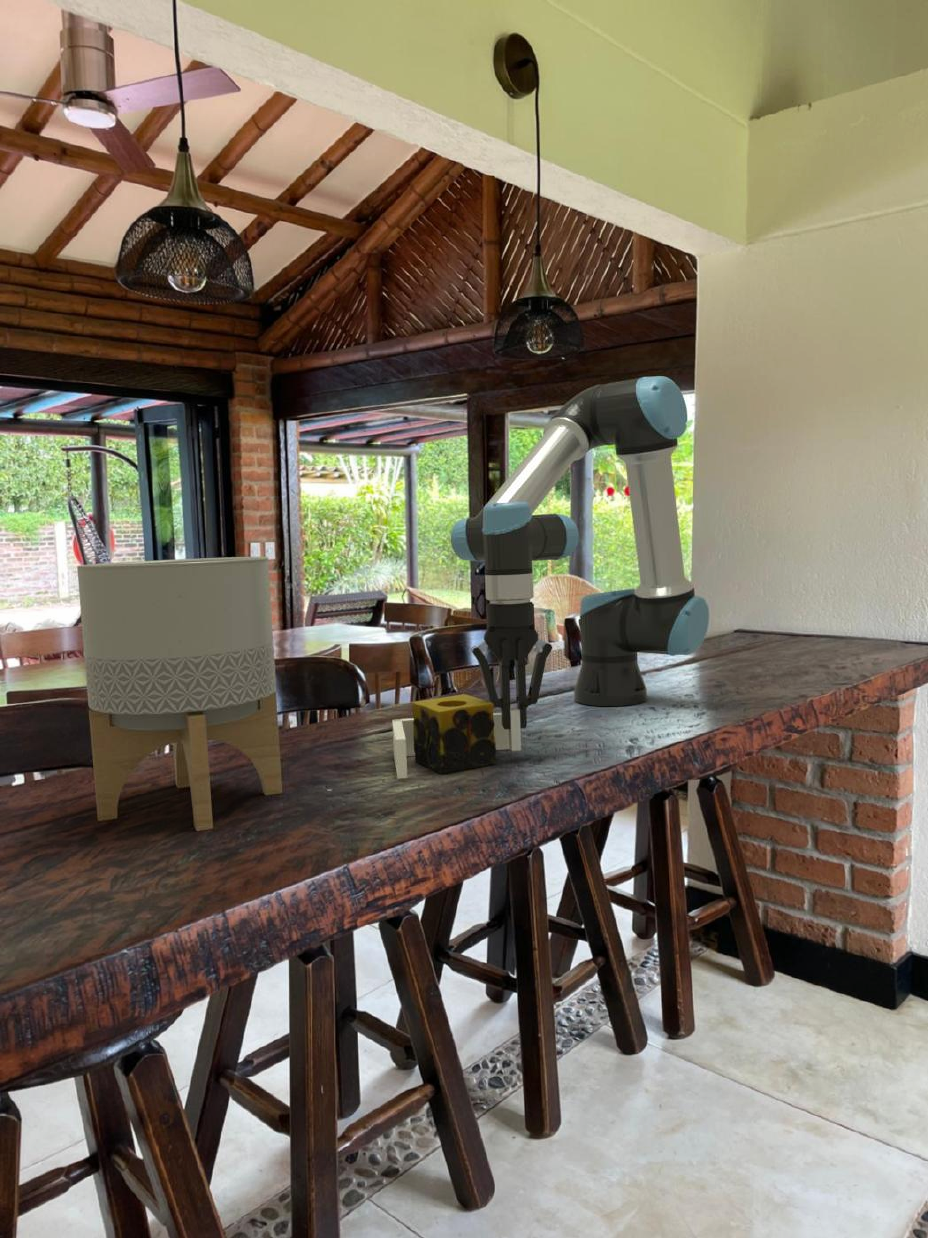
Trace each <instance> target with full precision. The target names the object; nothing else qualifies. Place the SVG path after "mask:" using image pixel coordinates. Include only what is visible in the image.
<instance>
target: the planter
mask: <svg viewBox="0 0 928 1238" xmlns="http://www.w3.org/2000/svg"><path fill="white" fill-rule="evenodd" d="M76 568H77V581H78V592H79V593H78V595H79V605H80V616H81V618H80V619H81V627H82V629H81V630H82V642H83V655H84V666H85V678H86V691H87V693H86V694H87V702H88V707H89V708H90V709H89V710H88V717H89V729H90V741H91V743H90V744H91V753H92V765H93V767H92V768H93V778H94V789H95V790H94V791H95V801H96V814H97V821H98V822H101V821H103V822H104V821H109V820H115V819H118V804H119V800H120V797H121V794H122V790H123V787H124V786H125V783H126V781H127V779H128V778H129V776H130V775H131V773H132V772H133V771H134V769H135V768H136V767H137V766H138V765H139V764H140V763H141V762H142V761H144V759H146V758H147V757H148V756H150V755H151V754H152V753H154V752H157V750H158V751H159V750H160V749H161V748H164V747H167V746H169V745H172V749H173V761H174V762H173V763H174V776H175V778H174V779H175V786H176V788H177V789H184V788H189V787H190V794H191V795H190V796H191V798H190V799H191V804H192V805H191V806H192V815H193V826H194V829H195V830H196V832H201V831H206V830H212V829H214V823H213V822H214V821H213V820H214V819H213V811H212V810H213V809H212V795H211V794H212V793H211V792H212V791H211V781H210V780H211V779H210V767H209V766H210V764H209V751H208V750H209V749H208V741H217V742H220V743H223V744H226V745H228V746H231V747H233V748H235V749H237V750H238V751H240V752H241V753H242V754H244V755H245V757H247V758H248V759H249V761H251V763H252V764H253V766H254V768H255V769H256V772H257V774H258V776H259V779H260V783H261V787H262V793H263V794H264V796H273V795H278V794H279V795H280V794H282V793H283V784H282V783H283V782H282V771H281V770H282V769H281V768H282V767H281V752H280V751H281V749H280V738H279V737H280V735H279V721H278V719H279V718H278V703H277V700H278V699H277V681H276V680H277V679H276V664H275V648H274V647H275V646H274V634H273V633H274V631H273V616H272V615H273V614H272V602H271V601H272V599H271V584H270V568H269V557H268V556H236V557H235V556H231V557H228V556H227V557H205V558H202V557H201V558H181V559H178V558H177V559H160V560H157V559H156V560H142V561H140V560H137V561H124V562H122V561H120V562H106V563H104V562H103V563H91V564H80V565H77V566H76Z"/></svg>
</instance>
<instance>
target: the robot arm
mask: <svg viewBox="0 0 928 1238" xmlns="http://www.w3.org/2000/svg"><path fill="white" fill-rule="evenodd" d="M687 409H688V408H687V405H686V400H685V398H684V395H683V393H682V391H681V389H680V387H679V386H678V385H677V384H676V382H675V381H673V380H672V379H671V378H669V377H667V376H662V375H661V376H660V375H657V376H643V377H638V378H634V379H627V380H621V381H615V382H609V383H601V384H596V385H594V386H590V387H588V388H587V389H585V390H583V391H580V392H579V393H578V394H576V395H575V396H574V397H572V398H571V399H570V400H569V401H567V402H566V403H565V404H564V405H562V406H561V407H560V408H559V410H557V411H556V412H555V413H554V414H553V416H552V417H550V419H549V420H548V421H547V423H546V424H545V425H544V427H543V431H542V432H543V433H542V437H541V438H540V439H539V441H538V442H536V443H535V445H534V446H533V447H532V449H531V450H530V451H529V452H528V453H527V455H526V456H525V457H524V458H523V460H522V461H521V462H520V463H519V465H518V466H517V467H515V469H514V470H513V471H512V473H511V474H510V475H509V476H508V478H507V479H505V481H504V482H503V484H502V485H501V486H500V488H499V489H498V490H497V491H496V492H495V493H494V495H493V496H492V497H491V498H490V499H489V500H488V502H487V503H486V504H485V506H483V507H482V509H481V510H480V511H479V512H478V514H477V515H476V516H474V517H471V516H469V517H467V518H462V519H459V520H458V521H456V522H455V523H454V525H453V527H452V529H451V533H450V545H451V549H452V550H453V552H454V553H455V555H456V556H457V557H458V558H459V559H460V560H463V561H470V562H479V563H480V562H484V568H485V569H484V574H485V575H484V577H485V579H484V580H485V583H484V584H485V599H486V600H487V601H489V602H488V603H487V604H486V606H485V610H486V611H485V612H486V613H485V614H486V632H485V634H484V635H483V636H484V637H483V641H481V642H480V643H479V644H477V645H473V646H472V647H470V648H471V649H470V652H471V653H472V655H473V656H474V657H475V658H476V660H477V662H478V666H479V669H480V673H481V676H482V679H483V683H484V686H485V690H486V694H487V697H488V702H491V703H493V704H494V706H493V708H494V707H497V708H500V713H501V714H502V726H503V728H504V729H509V747H510V749H509V750H510V751H512V752H516V751H517V752H519V751H522V737H521V736H522V735H521V734H522V733H521V729H527V725H528V723H527V721H528V720H527V709H528V708H529V706H531V705H536V704H537V703H538V701H539V697H540V691H541V686H542V681H543V676H544V672H545V666H546V661H547V658H548V657H549V656H550V653H551V651H552V650H553V646H552V644H551V643H549V642H546V641H544V640H542V639H540V638H539V633H538V632H537V629H536V625H535V604H534V603H533V601H531V599H533V598H534V594H535V593H534V574H533V573H534V572H533V571H534V570H533V562H538V561H553V560H554V561H559V560H560V559H565V558H568V557H569V556H571V555H572V554H573V553H574V552H575V551H576V549H577V547H578V544H579V539H580V536H579V535H580V534H579V529H578V527H577V525H576V523H575V521H574V520H573V519H572V518H570V516H567V515H564V514H558V513H556V512H555V513H548V514H547V513H546V514H545V513H544V514H543V513H542V514H534V512H535V511H536V510H537V509H538V507H539V506H540V504H542V503H543V501H544V500H545V498H546V497H547V496H548V494H549V493H550V492H551V490H553V488H554V487H555V486H556V484H557V483H558V482H559V481H560V479H561V478H562V477H563V475H564V474H565V473H566V472H567V470H568V469H569V468H570V467H571V465H572V464H573V462H575V461H579V460H581V459H583V458H584V457H585V455H586V454H587V453H588V452H589V451H590V450H593V449H596V448H599V447H603V446H612V445H613V446H614V448H615V454H616V457H617V458H618V459H620V460H622V461H623V462H624V464H625V470H626V471H625V472H626V478H627V486H628V487H627V488H628V493H629V502H630V510H631V517H632V518H631V519H632V525H633V527H632V528H633V533H634V541H635V550H636V559H637V565H638V574H639V581H640V583H639V585H638V586H637V587H636V588H627V589H626V588H625V589H620V590H612V591H611V590H610V591H604V592H598V593H591V594H586V595H584V596H582V598H581V600H580V611H579V612H580V613H579V618H580V619H579V620H580V643H581V644H580V645H581V666H580V670H579V673H578V676H577V679H576V682H575V687H574V690H573V691H574V693H573V694H574V695H573V696H574V697H573V698H574V702H576V703H578V704H582V705H587V706H597V707H621V706H622V707H623V706H631V705H632V706H633V705H638V704H642V703H644V702H646V701H647V700H648V692H647V686H646V684H645V681H644V678H643V676H642V671H641V669H640V666H639V663H638V661H639V660H638V654H639V653H641V654H656V655H669V656H673V657H674V656H688V655H692V654H694V653H696V652H697V651H698V650H699V649H700V647H702V645H703V642H704V640H705V638H706V636H707V632H708V628H709V620H710V610H709V605H708V603H707V601H706V599H705V598H703V597H702V596H700V595H696V594H695V593H696V592H695V585H694V583H693V582H691V581H690V580H689V579H687V578H686V577H685V569H684V568H685V567H684V559H683V551H682V550H683V549H682V541H681V534H680V533H681V532H680V525H679V515H678V506H677V499H676V491H675V490H676V489H675V481H674V472H673V471H674V470H673V465H672V464H673V463H672V455H673V454H674V452H675V451H676V449H678V447H679V442H678V438H680V437H682V436H683V435H684V433H685V431H686V430H687V422H688V410H687ZM534 647H535V648H534ZM488 648H489V650H490V651H491V652H492V653H493V655H494V656H495V657H496V658H497V660H498V670H499V693H500V694H499V696H500V697H498V694H497V690H496V687H495V682H494V679H493V676H492V671H491V670H490V667H489V662H488V660H487V658H486V657H487V656H488ZM533 648H534V649H535V652H536V655H535V659H534V663H533V670H532V673H531V678H530V683H529V688H528V693H527V682H526V681H527V680H526V679H527V677H526V675H527V674H526V666H527V665H526V662H527V661H526V658H527V657H528V656H529V654H530V653H531V651H532V650H533ZM512 660H513V661H514V670H515V694H516V698H515V699H516V706H511V683H510V681H511V679H510V666H511V665H510V661H512Z"/></svg>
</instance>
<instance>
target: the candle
mask: <svg viewBox="0 0 928 1238" xmlns="http://www.w3.org/2000/svg"><path fill="white" fill-rule="evenodd" d="M411 706H412V708H411V709H412V718H413V719H414V721H413V727H414V738H413V739H414V751H415V756H414V760H415V763H418V764H420V765H421V766H422V765H423V767H425V768H427V769H431V770H433V771H436V772H438V773H439V774H442V775H443V774H444V775H445V774H451V773H456V772H461V771H467V770H471V769H476V768H481V767H488V766H491V765H492V766H493V765H495V764H497V761H498V759H497V756H496V755H497V750H496V747H495V745H496V743H495V737H494V719H493V713H494V704H493V703H491V702H490V701H489V700H485V699H482V698H481V699H480V698H479V697H475V696H472V695H468V694H466V693H463V694H459V695H458V694H457V695H456V694H455V695H452V696H444V697H438V698H431V699H425V700H424V699H423V700H418V701H412V702H411Z"/></svg>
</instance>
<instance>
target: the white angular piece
mask: <svg viewBox="0 0 928 1238" xmlns="http://www.w3.org/2000/svg"><path fill="white" fill-rule="evenodd" d="M493 719H494V737H495V743H496V745H495V747H496V751H502V750H511V749H510V747H509V729H504V728H503V726H502V714H501V712H493ZM391 721H392V722H391V723H392V724H391V725H392V741H393V743H392V744H393V757H394V763H395V764H394V765H395V772H396V778H397V780H399V779H408V765H407V764H408V763H407V757H415V751H414V739H413V738H414V727H413V721H414V719H413V717H412V718H398V719H397V718H396V719H394V718H393V719H391Z"/></svg>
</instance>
